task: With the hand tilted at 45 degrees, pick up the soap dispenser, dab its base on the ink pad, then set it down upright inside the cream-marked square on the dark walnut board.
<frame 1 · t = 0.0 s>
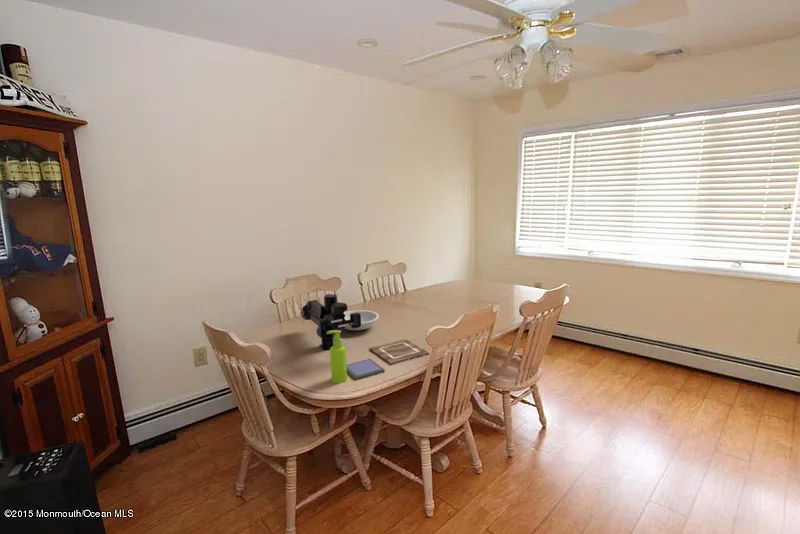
hand: (348, 328, 165), 17 cm above the table, tool horizontal, fingers open, 9 cm apart
soup bowl: (357, 328, 214), on the table
soap dispenser: (338, 379, 156), on the table
target board: (398, 351, 182), on the table
ink pad: (363, 370, 164), on the table
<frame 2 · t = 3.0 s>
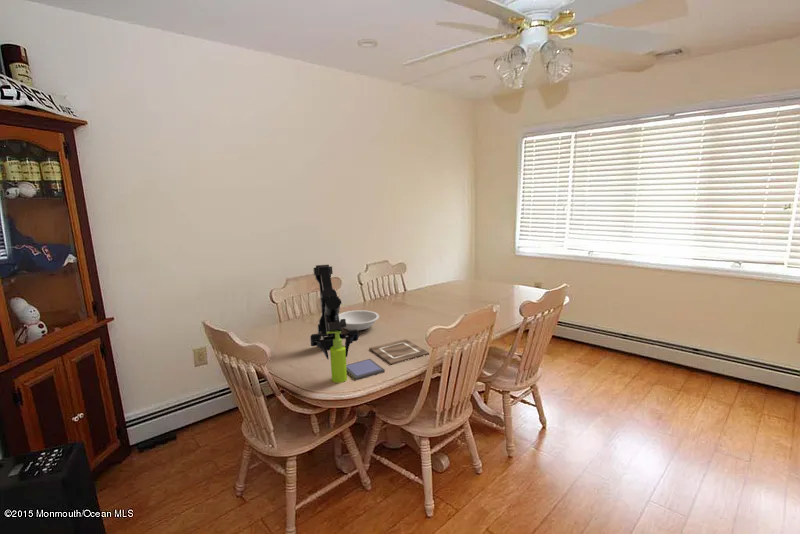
hand: (337, 357, 153), 10 cm above the table, tool tilted 45°, fingers open, 7 cm apart
soap dispenser: (338, 379, 156), on the table, touching gripper
everything else where it was.
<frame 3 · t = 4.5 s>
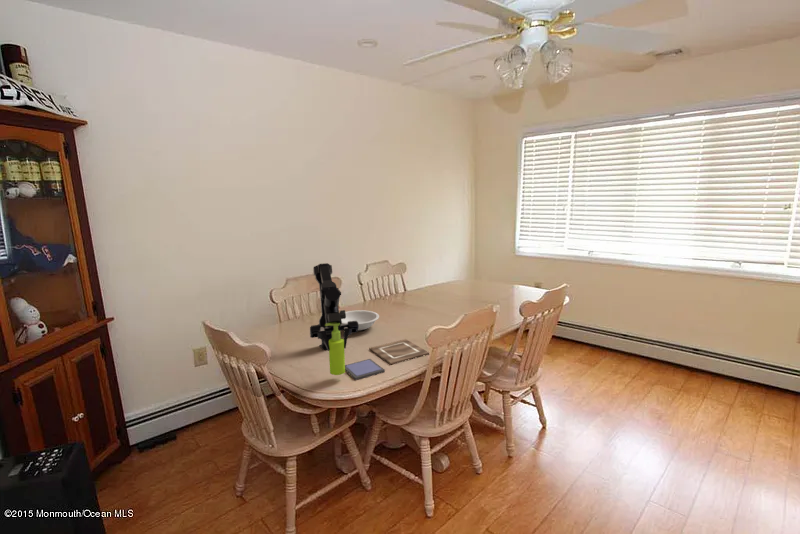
hand: (337, 349, 152), 13 cm above the table, tool tilted 45°, fingers closed on soap dispenser, 6 cm apart
soap dispenser: (336, 372, 155), point 3 cm above the table, touching gripper
everything else where it was.
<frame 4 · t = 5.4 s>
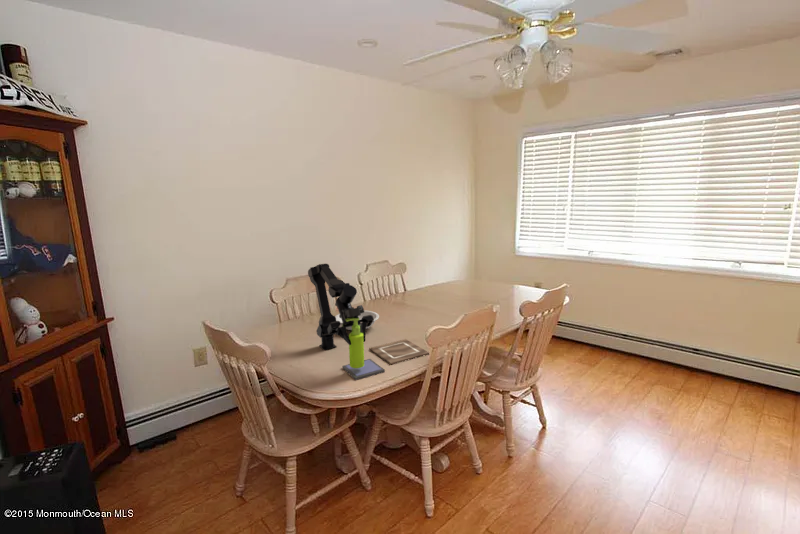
hand: (357, 343, 158), 13 cm above the table, tool tilted 45°, fingers closed on soap dispenser, 6 cm apart
soap dispenser: (355, 365, 161), point 3 cm above the table, touching gripper
everything else where it was.
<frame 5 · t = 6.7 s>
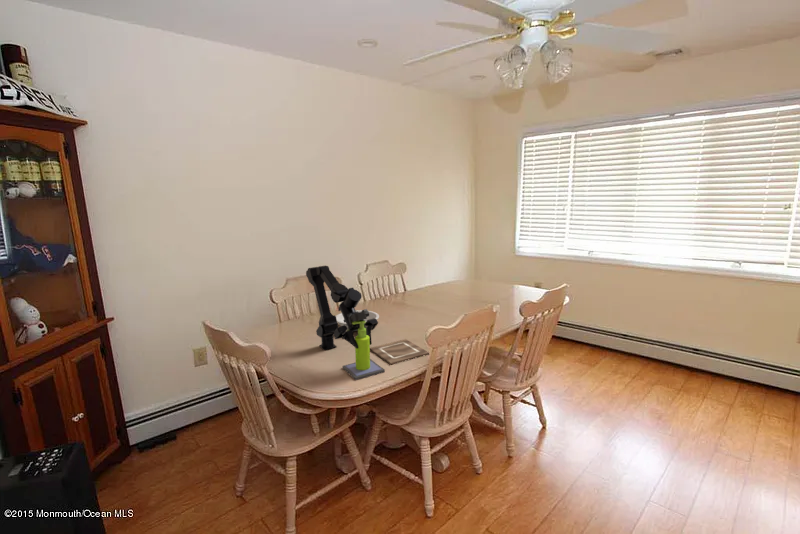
hand: (364, 346, 160), 11 cm above the table, tool tilted 45°, fingers closed on soap dispenser, 6 cm apart
soap dispenser: (361, 367, 163), point 1 cm above the table, touching gripper, ink pad
everything else where it was.
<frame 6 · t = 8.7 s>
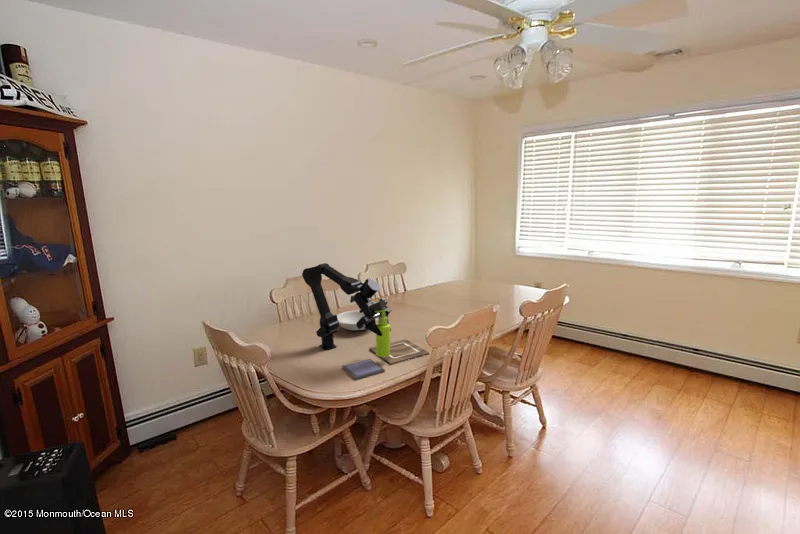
hand: (386, 333, 167), 13 cm above the table, tool tilted 45°, fingers closed on soap dispenser, 6 cm apart
soap dispenser: (382, 355, 170), point 3 cm above the table, touching gripper
everything else where it was.
when the fingers open (11 cm above the table, at t = 10.7 s): soap dispenser stays where it is, resting on target board.
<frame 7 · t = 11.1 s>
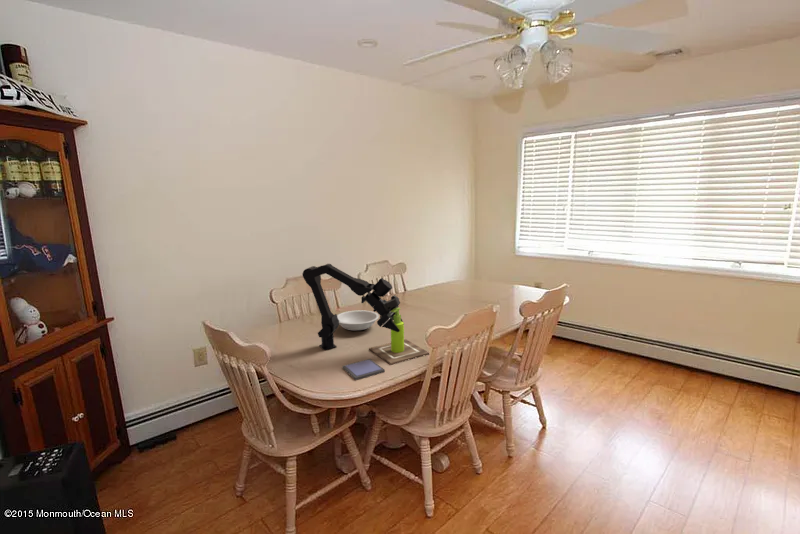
hand: (401, 327, 179), 12 cm above the table, tool tilted 45°, fingers open, 9 cm apart
soap dispenser: (397, 351, 181), point 1 cm above the table, touching target board
everything else where it was.
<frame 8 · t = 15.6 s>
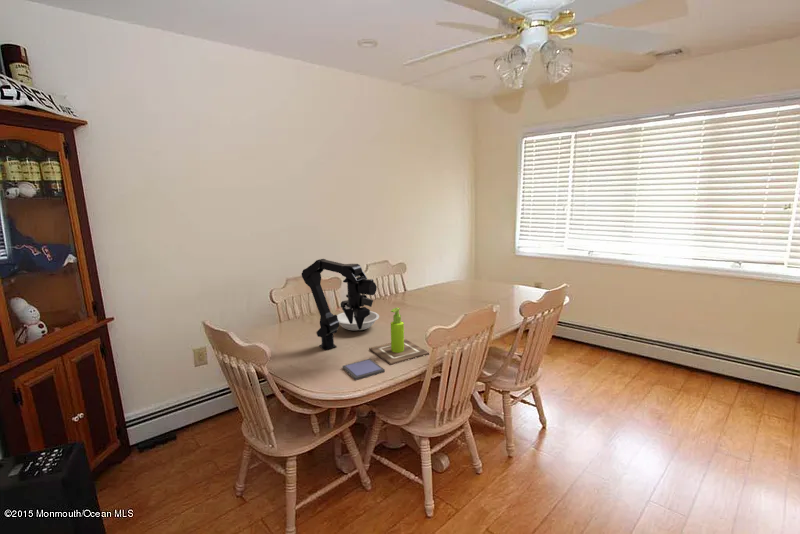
hand: (355, 326, 178), 13 cm above the table, tool pointing down, fingers open, 9 cm apart
nothing on the table moved.
at the end: soap dispenser inside the target area on the target board (0.9 cm from its centre), point 0.6 cm above the target board's base; soap dispenser tilted 0°; the gripper is holding nothing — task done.
